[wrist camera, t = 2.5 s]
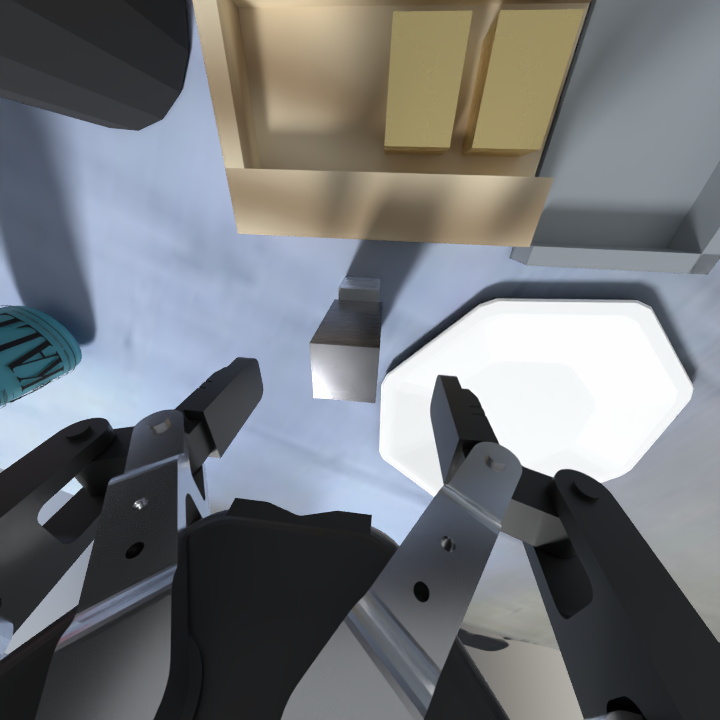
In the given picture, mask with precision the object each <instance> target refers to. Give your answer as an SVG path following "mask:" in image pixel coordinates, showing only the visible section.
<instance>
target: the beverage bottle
mask: <svg viewBox="0 0 720 720" xmlns="http://www.w3.org/2000/svg"><path fill="white" fill-rule="evenodd" d="M1 306H7V307H3V308H0V406H2V405H4V404H5V406H6V403H9V402H14V401H15V400H16V401H17V399H20V398H21V397H23V396H21V395H23V394H25V393H27V392H29V391H31V390H33V392H34V389H35V388H37V387H39V386H41V385H43V386H41V387H40V388H42V387H44V385H45V386H46V384H47V385H48V383H50V382H51V380H53V379H57V377H58V379H59V376H60V375H62V374H64V373H66V372H68V371H70V370H72V369H73V368H75V367H76V366H77V365H78V364H79V363H80V361H81V358H82V354H81V350H80V347H79V345H78V343H77V341H76V340H75V338H74V337H73V336H72V334H71V333H70V332H69V331H68V330H67V329H66V328H65V327H64V326H63V325H62V324H60V323H59V322H58V321H57V320H55V319H54V318H52V317H51V316H49V315H47V314H46V313H44V312H42V311H40V310H37V309H35V308H31V307H27V306H8V305H1ZM73 370H74V369H73ZM68 373H69V372H68ZM68 373H66V374H68ZM70 373H71V372H70ZM64 376H65V375H64ZM62 377H63V376H62ZM45 383H46V384H45ZM40 388H39V389H40ZM37 390H38V388H37ZM35 391H36V389H35ZM30 393H32V392H30ZM30 393H28V394H30ZM28 394H26V395H28ZM26 395H24V396H26ZM19 396H21V397H19ZM17 397H19V398H17ZM15 398H17V399H15ZM13 399H15V400H13ZM11 400H12V401H11ZM5 406H3V407H5ZM3 407H2V408H3Z"/></svg>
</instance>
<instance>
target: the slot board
mask: <svg viewBox="0 0 720 720" xmlns="http://www.w3.org/2000/svg"><path fill="white" fill-rule="evenodd" d="M591 1H592V0H192V2H193V7H194V12H195V17H196V22H197V27H198V32H199V37H200V42H201V47H202V52H203V58H204V63H205V68H206V73H207V78H208V83H209V88H210V93H211V98H212V103H213V108H214V114H215V119H216V124H217V129H218V134H219V139H220V144H221V149H222V154H223V159H224V164H225V170H226V175H227V180H228V185H229V190H230V195H231V200H232V205H233V210H234V215H235V221H236V226H237V231H238V234H256V235H278V236H299V237H321V238H342V239H364V240H385V241H407V242H428V243H450V244H471V245H493V246H514V247H530V244H531V241H532V239H533V236H534V233H535V230H536V227H537V224H538V222H539V219H540V216H541V213H542V210H543V207H544V204H545V202H546V199H547V196H548V193H549V190H550V187H551V185H552V182H553V179H554V178H553V177H535V174H536V170H537V167H538V164H539V161H540V158H541V155H542V152H543V148H544V145H545V142H546V139H547V136H548V133H549V130H550V127H551V123H552V120H553V117H554V114H555V111H556V108H557V105H558V101H559V98H560V95H561V92H562V89H563V86H564V83H565V79H566V76H567V73H568V70H569V67H570V64H571V61H572V57H573V54H574V51H575V48H576V45H577V42H578V39H579V35H580V32H581V29H582V26H583V23H584V20H585V17H586V13H587V10H588V7H589V4H590V2H591ZM561 9H584V12H583V15H582V18H581V21H580V25H579V28H578V31H577V34H576V37H575V41H574V44H573V47H572V50H571V53H570V57H569V60H568V63H567V66H566V69H565V72H564V76H563V79H562V82H561V85H560V88H559V92H558V95H557V98H556V101H555V104H554V108H553V111H552V114H551V117H550V120H549V123H548V127H547V130H546V133H545V136H544V139H543V143H542V146H541V149H540V150H538V151H535V152H532V153H530V154H527V155H524V156H522V157H499V156H461V154H462V149H463V144H464V138H465V133H466V128H467V122H468V117H469V112H470V107H471V101H472V96H473V91H474V85H475V80H476V75H477V69H478V64H479V59H480V54H481V48H482V43H483V39H484V38H485V36H486V34H487V32H488V31H489V29H490V27H491V25H492V24H493V22H494V20H495V18H496V17H497V15H498V13H499V11H500V10H561ZM393 11H473V12H472V18H471V24H470V30H469V36H468V42H467V48H466V54H465V60H464V66H463V71H462V77H461V83H460V89H459V95H458V101H457V107H456V113H455V119H454V125H453V131H452V137H451V143H450V148H449V149H448V150H447V151H446V152H445V153H444V154H442V155H417V154H385V148H384V144H385V128H386V113H387V97H388V81H389V66H390V50H391V34H392V19H393Z"/></svg>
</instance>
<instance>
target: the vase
mask: <svg viewBox="0 0 720 720" xmlns="http://www.w3.org/2000/svg"><path fill="white" fill-rule="evenodd" d="M188 53H189V47H188V31H187V16H186V0H0V97H2V98H6V99H10V100H13V101H17V102H20V103H24V104H27V105H31V106H34V107H38V108H41V109H45V110H48V111H52V112H55V113H59V114H62V115H66V116H69V117H73V118H76V119H80V120H83V121H87V122H91V123H94V124H98V125H101V126H105V127H108V128H117V129H127V130H137V131H139V130H141V129H143V128H145V127H147V126H149V125H151V124H154V123H156V122H158V121H160V120H162V119H163V118H164V117H165V115H166V114H167V112H168V111H169V109H170V108H171V106H172V105H173V103H174V102H175V100H176V99H177V97H178V96H179V94H180V93H181V88H182V83H183V78H184V73H185V68H186V63H187V58H188Z"/></svg>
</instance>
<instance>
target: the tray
mask: <svg viewBox="0 0 720 720" xmlns="http://www.w3.org/2000/svg"><path fill="white" fill-rule="evenodd" d="M536 177H553V178H554V179H553V182H552V185H551V187H550V190H549V193H548V196H547V199H546V202H545V204H544V207H543V210H542V213H541V216H540V219H539V222H538V224H537V227H536V230H535V233H534V236H533V239H532V241H531V244H530V247H514V246H513V249H512V252H511V255H510V258H511V259H513V260H515V261H518V262H520V263H523V264H525V265H531V266H550V267H570V268H589V269H609V270H629V271H648V272H668V273H687V274H707V275H708V274H709V272H710V271H711V270H712V268H713V267H714V266H715V264H716V263H717V261H718V260H719V259H720V0H592V2H591V5H590V9H589V12H588V15H587V18H586V21H585V24H584V27H583V30H582V34H581V37H580V40H579V43H578V46H577V49H576V52H575V55H574V59H573V62H572V65H571V68H570V71H569V74H568V77H567V80H566V84H565V87H564V90H563V93H562V96H561V99H560V102H559V105H558V109H557V112H556V115H555V118H554V121H553V124H552V127H551V130H550V134H549V137H548V140H547V143H546V146H545V149H544V152H543V155H542V158H541V162H540V165H539V168H538V171H537V174H536Z"/></svg>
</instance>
